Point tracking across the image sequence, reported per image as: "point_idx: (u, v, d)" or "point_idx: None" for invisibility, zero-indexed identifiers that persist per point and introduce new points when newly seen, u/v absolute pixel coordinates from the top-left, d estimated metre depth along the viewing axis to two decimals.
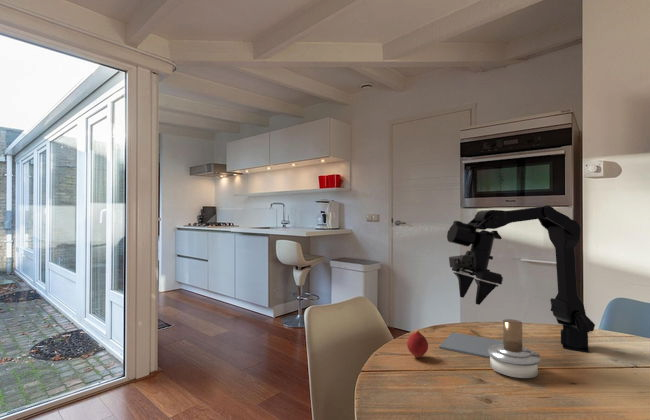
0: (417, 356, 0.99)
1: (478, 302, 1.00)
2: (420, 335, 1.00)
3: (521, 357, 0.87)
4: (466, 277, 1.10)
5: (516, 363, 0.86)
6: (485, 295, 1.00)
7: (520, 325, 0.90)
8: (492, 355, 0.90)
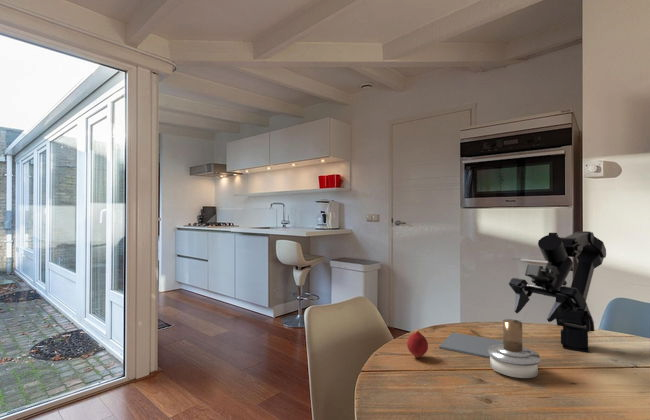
0: (417, 356, 0.99)
1: (550, 319, 0.91)
2: (420, 335, 1.00)
3: (521, 357, 0.87)
4: (524, 295, 1.02)
5: (516, 363, 0.86)
6: (559, 315, 0.91)
7: (520, 325, 0.90)
8: (492, 355, 0.90)
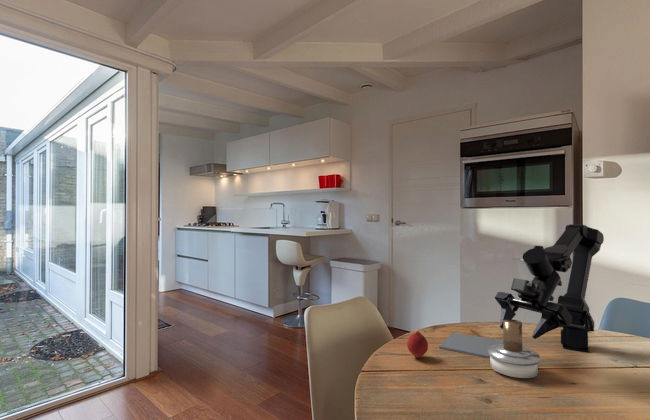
0: (417, 356, 0.99)
1: (535, 336, 0.88)
2: (420, 335, 1.00)
3: (521, 357, 0.87)
4: (510, 309, 0.99)
5: (516, 363, 0.86)
6: (545, 331, 0.88)
7: (520, 325, 0.90)
8: (492, 355, 0.90)
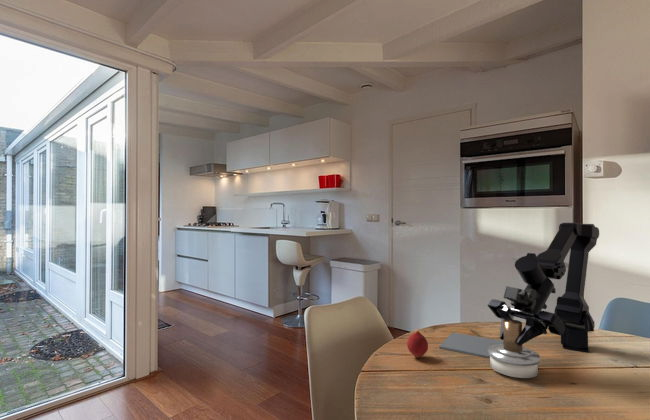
0: (417, 356, 0.99)
1: (520, 342, 0.89)
2: (420, 335, 1.00)
3: (521, 357, 0.87)
4: None
5: (516, 363, 0.86)
6: (529, 338, 0.89)
7: (520, 325, 0.90)
8: (492, 355, 0.90)
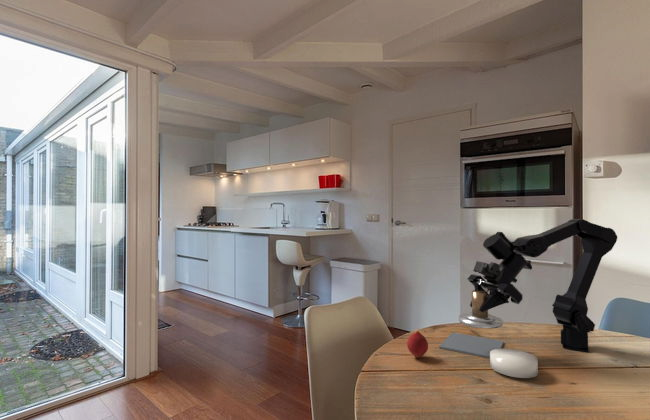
0: (417, 356, 0.99)
1: (482, 309, 1.01)
2: (420, 335, 1.00)
3: (482, 321, 1.00)
4: None
5: (474, 325, 0.99)
6: (492, 306, 1.01)
7: (484, 294, 1.02)
8: (459, 320, 1.04)
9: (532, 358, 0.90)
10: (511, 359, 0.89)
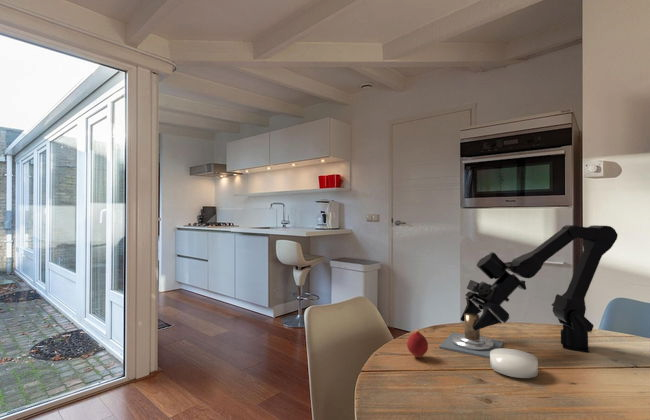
0: (417, 356, 0.99)
1: (475, 328, 1.05)
2: (420, 335, 1.00)
3: (471, 343, 1.07)
4: (474, 307, 1.16)
5: (463, 347, 1.06)
6: (485, 325, 1.05)
7: (475, 318, 1.08)
8: (452, 340, 1.12)
9: (532, 358, 0.90)
10: (511, 359, 0.89)
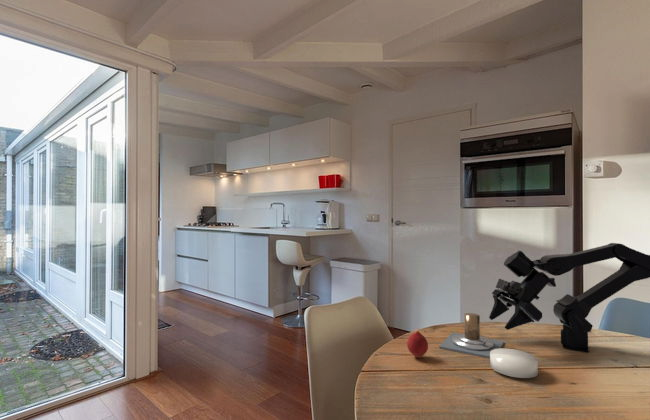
0: (417, 356, 0.99)
1: (507, 327, 1.06)
2: (420, 335, 1.00)
3: (471, 343, 1.07)
4: (502, 305, 1.16)
5: (464, 347, 1.06)
6: (517, 324, 1.05)
7: (475, 318, 1.08)
8: (452, 340, 1.12)
9: (532, 358, 0.90)
10: (511, 359, 0.89)
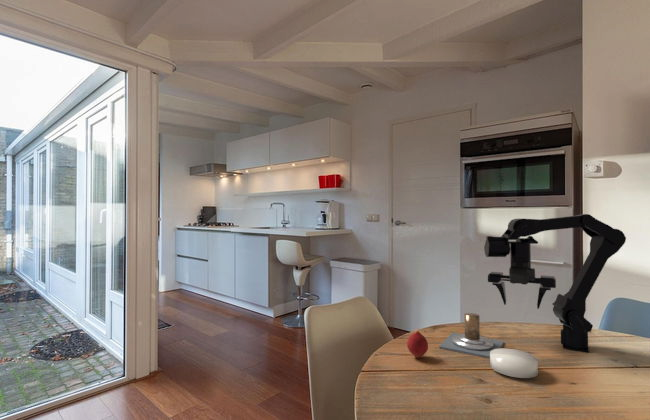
0: (417, 356, 0.99)
1: (539, 306, 1.09)
2: (420, 335, 1.00)
3: (471, 343, 1.07)
4: (503, 284, 1.15)
5: (464, 347, 1.06)
6: None
7: (475, 318, 1.08)
8: (452, 340, 1.12)
9: (532, 358, 0.90)
10: (511, 359, 0.89)
